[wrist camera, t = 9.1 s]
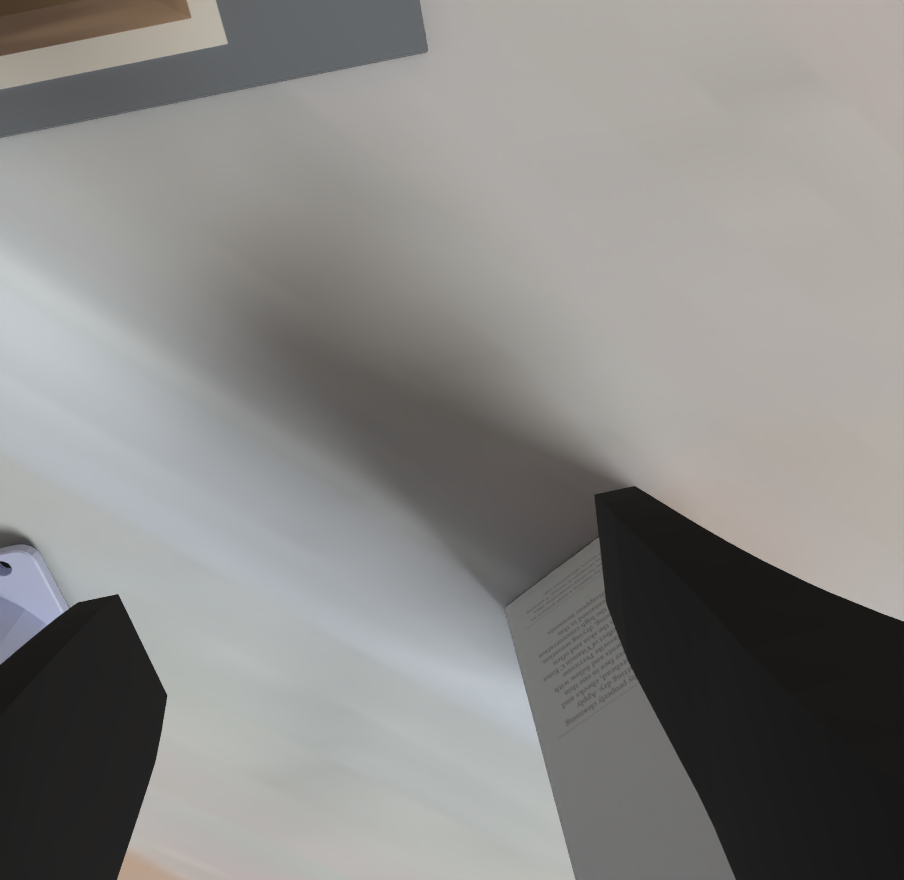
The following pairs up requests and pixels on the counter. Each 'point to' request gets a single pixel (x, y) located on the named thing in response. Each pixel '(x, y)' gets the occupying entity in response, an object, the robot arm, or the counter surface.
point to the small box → (606, 739)
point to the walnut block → (78, 20)
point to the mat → (202, 57)
